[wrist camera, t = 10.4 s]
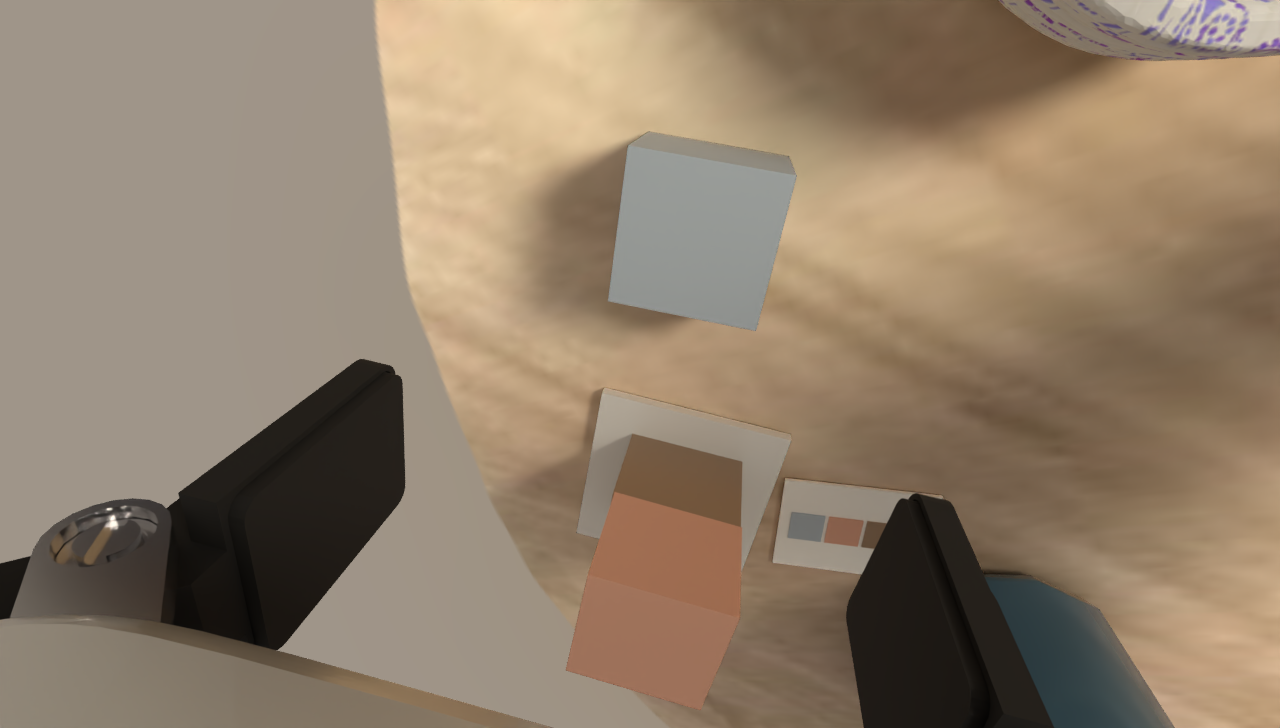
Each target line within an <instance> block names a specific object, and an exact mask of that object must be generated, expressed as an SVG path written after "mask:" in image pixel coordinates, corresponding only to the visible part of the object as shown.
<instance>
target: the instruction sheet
mask: <svg viewBox="0 0 1280 728" xmlns="http://www.w3.org/2000/svg"><path fill="white" fill-rule="evenodd" d="M914 493H916V492H907V491H898V490H889V489H880V488H872V487H863V486H854V485H845V484H836V483H827V482H818V481H810V480H801V479H792V478H785V482H784V488H783V495H782V501H781V508H780V514H779V521H778V527H777V534H776V540H775V547H774V553H773V560H772V563H779V564H786V565H794V566H801V567H809V568H816V569H824V570H831V571H839V572H846V573H854V574H861V575H862V573H863V571H864V569H865V567H866V565H867V563H868V561H869V559H870V557H871V555H872V553H873V551H874V549H875V547H876V545H877V542H878V540H879V538H880V536H881V534H882V532H883V530H884V528H885V526H886V524H887V522H888V520H889V518H890V516H891V514H892V512H893V510H894V508H895V506H896V504H897V502H898V501H899V500H900V499H902V498H904V499H909V497H910V496H911V495H912V494H914ZM919 494H923V495H927V496H931V497H935V498H939V499H943V496H942V495H934V494H925V493H919Z"/></svg>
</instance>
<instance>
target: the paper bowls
mask: <svg viewBox="0 0 1280 728" xmlns="http://www.w3.org/2000/svg"><path fill="white" fill-rule="evenodd" d="M998 1H999V2H1000V3H1001V4H1002V5H1003V6H1004V7H1005V8H1006V9H1008V10H1009V11H1011V12H1012V13H1013V14H1015V15H1016V16H1017V17H1019V18H1020V19H1021V20H1023V21H1024V22H1025V23H1026V24H1028V25H1029V26H1031V27H1032V28H1034V29H1035V30H1037V31H1039V32H1040V33H1042V34H1044V35H1046V36H1048V37H1050V38H1052V39H1054V40H1056V41H1058V42H1060V43H1062V44H1064V45H1066V46H1069V47H1072V48H1075V49H1079V50H1083V51H1085V52H1088V53H1092V54H1097V55H1103V56H1109V57H1115V58H1123V59H1131V60H1147V61H1166V60H1207V59H1227V58H1245V57H1262V56H1273V55H1280V0H998Z"/></svg>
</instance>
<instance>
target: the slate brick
mask: <svg viewBox="0 0 1280 728" xmlns="http://www.w3.org/2000/svg"><path fill="white" fill-rule="evenodd" d="M796 177H797V175H796V172H795V170H794V168H793V165H792V163H791V160H790V158H789V156H784V155H779V154H773V153H768V152H762V151H756V150H751V149H745V148H739V147H734V146H728V145H722V144H717V143H711V142H705V141H700V140H694V139H689V138H683V137H677V136H672V135H666V134H660V133H655V132H647V133H646V134H644V135H643V136H641V137H640V138H638V139H637V140H635V141H634V142H632V143H631V144H629V145H628V149H627V157H626V165H625V172H624V180H623V188H622V196H621V204H620V211H619V219H618V227H617V235H616V242H615V250H614V258H613V266H612V274H611V281H610V289H609V297H608V301H609V302H614V303H619V304H624V305H629V306H634V307H639V308H644V309H649V310H653V311H658V312H663V313H668V314H673V315H678V316H683V317H688V318H693V319H698V320H703V321H708V322H713V323H718V324H723V325H728V326H733V327H738V328H743V329H748V330H753V331H756V329H757V325H758V321H759V318H760V314H761V310H762V306H763V302H764V298H765V295H766V291H767V287H768V283H769V279H770V276H771V272H772V268H773V264H774V260H775V257H776V253H777V249H778V245H779V241H780V238H781V234H782V230H783V226H784V222H785V219H786V215H787V211H788V207H789V203H790V200H791V196H792V192H793V188H794V184H795V181H796Z"/></svg>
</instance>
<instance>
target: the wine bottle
mask: <svg viewBox="0 0 1280 728" xmlns="http://www.w3.org/2000/svg"><path fill="white" fill-rule="evenodd" d="M984 577H985V579H986V581H987V583H988V586H989V588H990V590H991V592H992V593H993V595H994V596H995V598H996V599H997V601H998V603H999V606H1000V608H1001V610H1002V612H1003V615H1004V617H1005V619H1006V621H1007V624H1008V626H1009V628H1010V630H1011V632H1012V635H1013V637H1014V639H1015V641H1016V644H1017V646H1018V648H1019V650H1020V652H1021V655H1022V657H1023V659H1024V661H1025V664H1026V666H1027V668H1028V670H1029V673H1030V675H1031V677H1032V679H1033V681H1034V684H1035V686H1036V688H1037V690H1038V693H1039V695H1040V697H1041V699H1042V701H1043V704H1044V706H1045V708H1046V710H1047V713H1048V715H1049V717H1050V719H1051V721H1052V724H1053V726H1054V728H1175V727H1174V726H1173V724H1172V723H1171V721H1170V720H1169V718H1168V716H1167V715H1166V713H1165V712H1164V710H1163V709H1162V707H1161V705H1160V704H1159V702H1158V701H1157V699H1156V698H1155V696H1154V694H1153V693H1152V691H1151V690H1150V688H1149V687H1148V685H1147V683H1146V682H1145V680H1144V679H1143V677H1142V676H1141V674H1140V672H1139V671H1138V669H1137V668H1136V666H1135V665H1134V663H1133V661H1132V660H1131V658H1130V657H1129V655H1128V654H1127V652H1126V650H1125V649H1124V647H1123V646H1122V644H1121V643H1120V641H1119V639H1118V638H1117V636H1116V635H1115V633H1114V632H1113V630H1112V628H1111V627H1110V625H1109V624H1108V622H1107V621H1106V619H1105V617H1104V616H1103V614H1102V613H1101V611H1100V610H1099V609H1098V608H1096V607H1095V606H1093V605H1092V604H1090V603H1089V602H1087V601H1086V600H1084V599H1082V598H1080V597H1078V596H1075V595H1073V594H1071V593H1069V592H1066V591H1064V590H1062V589H1060V588H1057V587H1055V586H1053V585H1051V584H1048V583H1046V582H1044V581H1042V580H1040V579H1037V578H1035V577H1033V576H1031V575H998V574H984Z"/></svg>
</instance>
